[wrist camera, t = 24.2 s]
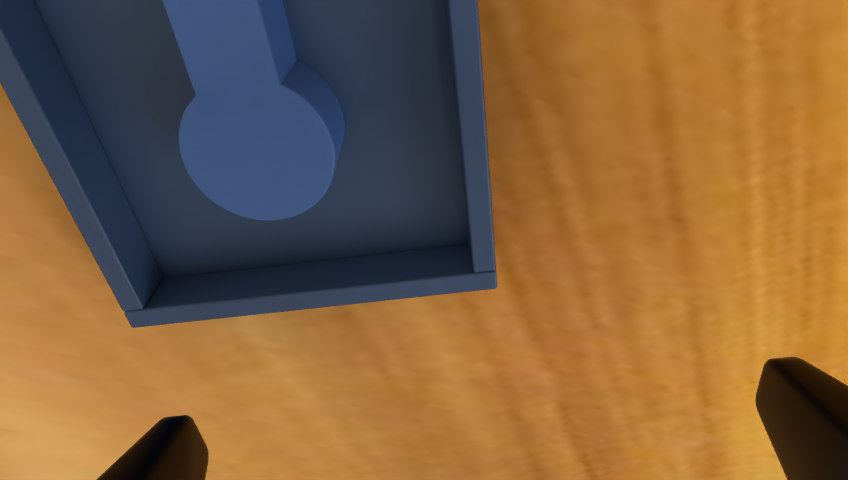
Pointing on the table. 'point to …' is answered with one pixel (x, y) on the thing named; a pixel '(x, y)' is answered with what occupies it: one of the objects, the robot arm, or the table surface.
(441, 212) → the blue tray
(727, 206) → the table surface
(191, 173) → the blue spoon
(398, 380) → the table surface
